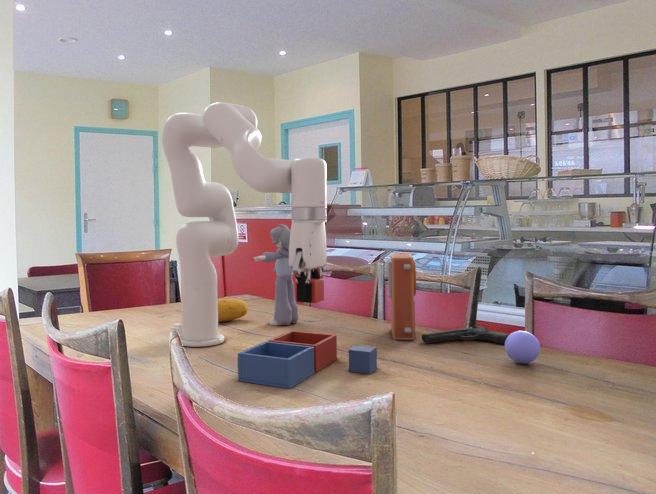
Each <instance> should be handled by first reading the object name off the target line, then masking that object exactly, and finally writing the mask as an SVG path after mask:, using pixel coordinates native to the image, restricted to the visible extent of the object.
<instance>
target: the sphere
mask: <svg viewBox="0 0 656 494" xmlns="http://www.w3.org/2000/svg"><path fill="white" fill-rule="evenodd" d="M509 334H510V335H509V336H508V337H507V339H506V341H505V344H504V351H505V353H506V355H507V356H508V358H509V359H511V360H512V361H513V362H515V363H518V364H521V365H522V364H523V365H526V364H531V363H533V362H535V361H536V360H537V359H538V357H539V355H540V352H541V344H540V341H539V339H538V338H537V337H536V336H535V335H534V334H532V333H531V332H529V331H525V330H516V331H513V332H511V333H509Z"/></svg>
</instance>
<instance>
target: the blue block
mask: <svg viewBox="0 0 656 494" xmlns="http://www.w3.org/2000/svg"><path fill="white" fill-rule="evenodd" d="M377 352H378V348H377V347H376V346H370V345H369V346H368V345H360V344H359V345H358V344H357V345H354V346H352V347H351V348H349V349H348V372H351V373H357V374H358V373H360V374H365V375H371V374H372V373H374V372H375V371H376V370H377V369H378V353H377Z"/></svg>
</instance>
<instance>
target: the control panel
mask: <svg viewBox="0 0 656 494" xmlns="http://www.w3.org/2000/svg"><path fill="white" fill-rule="evenodd" d="M416 269H417V267H416V261H415V260H414V257H413V256H412V254H411V253H390V258H388V259H387V294H388V298H389V299H390V309H391V310H390V311H391V312H390V313H391V315H390V316H391V317H390V318H391V335H392V339H393V340H396V341H398V340H399V341H415V334H416V314H415V313H416V309H415V307H416V306H415V305H416V303H415V296H416V295H417V270H416Z"/></svg>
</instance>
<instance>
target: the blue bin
mask: <svg viewBox="0 0 656 494" xmlns="http://www.w3.org/2000/svg"><path fill="white" fill-rule="evenodd" d="M314 374H315V372H314V347H311V346H303V345H294V344H285V343H275V342H268V341H263V342H261V343H259V344H256V345H253V346H252V347H249V348H247V349H244V350H242V351H240V352H238V353H237V381H238V382H242V383H243V382H245V383H251V384H257V385H262V386H270V387H275V388H282V389H292V388H293V387H295V386H296V385H299V384H300V383H301V382H303V381H305V380H306V379H308V378H309V377H312V376H313V375H314Z"/></svg>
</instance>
